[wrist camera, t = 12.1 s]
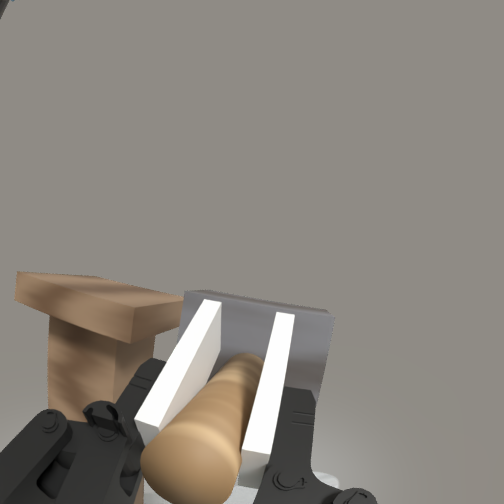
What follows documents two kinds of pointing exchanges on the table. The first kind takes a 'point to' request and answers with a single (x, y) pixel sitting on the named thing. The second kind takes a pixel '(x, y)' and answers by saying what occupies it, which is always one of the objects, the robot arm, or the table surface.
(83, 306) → the stand
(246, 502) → the table surface
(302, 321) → the mallet
